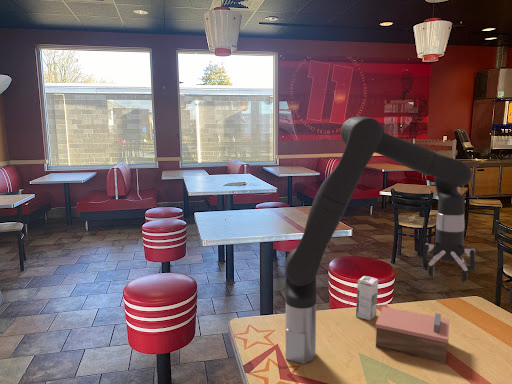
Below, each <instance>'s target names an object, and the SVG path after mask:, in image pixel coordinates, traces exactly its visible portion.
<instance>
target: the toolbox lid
mask: <svg viewBox="0 0 512 384" xmlns="http://www.w3.org/2000/svg"><path fill="white" fill-rule="evenodd" d="M374 327H375V328H376V329H377V328H381V329H385V330H390V331H394V332H399V333H403V334H408V335H413V336H417V337H422V338H426V339H431V340H435V341H440V342H445V343H447V344H449V338H450V336H449V334H450V319H449V318H446V317H442V314H441V313H434V315H429V314H425V313H421V312H420V313H419V312H415V311H414V312H413V311H408V310H403V309H398V308H394V307H388V306H382V308H381V311H380V313H379V314H378V317H377V320H376V322H375V326H374Z"/></svg>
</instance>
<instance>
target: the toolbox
mask: <svg viewBox="0 0 512 384" xmlns="http://www.w3.org/2000/svg"><path fill="white" fill-rule="evenodd" d="M375 331H376V332H375V333H376V334H375V348H378V349H382V350H387V351H390V352H391V351H392V352H396V353H399V354H404V355H408V356H411V357H416V358H419V359H423V360H428V361H433V362H435V363H436V362H437V363H440V364H441V363H442V364H443V365H444V364H445V365H446V363H447V362H446V361H447V350H448V348H447V347H448V343H445V342H440V341H435V340H431V339H426V338H422V337H417V336H413V335H408V334H403V333H399V332H394V331H390V330H385V329H381V328H376V330H375Z"/></svg>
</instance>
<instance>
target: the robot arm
mask: <svg viewBox="0 0 512 384" xmlns="http://www.w3.org/2000/svg"><path fill="white" fill-rule="evenodd" d="M340 136H341V139H342V141H343V143H344V144H345V148H344V151H343V153H342V156H341V158H340V159H339V162H338V163H337V164H336V166H335V168H333V170H332V171H331V172H330V173H329V175H328V176H327V177H326V178H325V179H324V180H323V182H322V183H321V184H320V187H319V189H318V191H317V192H316V195H315V196H314V199H313V201H312V204H311V207H310V210H309V213H308V216H307V220H306V223H305V228H304V232H303V234H302V236H301V237H302V238H301V240H300V241H299V243H298V245H297V246H296V248H294V249H292V250H291V251H289V253H288V254H287V256H286V260H285V269H284V270H285V360H288V361H292V362H294V363H299V364H302V365H305V364H306V363H308V362H311V361H313V360H314V359H315V358H316V353H317V352H316V351H317V350H316V348H317V347H316V342H317V339H316V336H317V333H316V331H317V275H318V272H319V268H320V265H321V261H322V259H323V256H324V254H325V252H326V249H327V247H328V244H329V242H330V240H331V239H332V237H333V235H334V233H335V232H336V230H337V227H338V226H339V224H340V222H341V220H342V218H343V216H344V214H345V212H346V210H347V208H348V205H349V204H350V201H351V199H352V197H353V194H354V192H355V190H356V188H357V186H358V183H359V181H360V179H361V176H362V175H363V173H364V170H365V169H366V167H367V165H368V164H369V162H370V161H371V158H372V156H373V155H374V153H375V154H377V155H380V156H383V157H386V158H387V159H390V160H392V161H394V162H395V163H398V164H400V165H402V166H404V167H406V168H408V169H410V170H413V171H415V172H418V173H419V174H423V175H424V176H429V177H434V185H435V190H436V191H435V192H436V194H437V198H438V200H437V202H438V204H437V216H436V226H435V243H434V244H431V243H429V242H426V243H425V244H424V245H423V250H422V251H423V252H422V263H424V264H427V265H428V275H429V276H430V278H434V276H435V264H436V263H437V261H439V260H440V259H441V261H444V262H445V261H449V262H453V263H454V262H456V263H457V264H458V265H459V266H460V267H461V283H465V282H467V280H468V276H469V275H468V274H469V273H468V272H469V271H475V269H476V249H475V248H473V247H472V248H465V247H464V241H465V239H464V238H465V237H464V234H465V228H466V227H465V204H466V203H465V197H464V195H463V194H462V193H460V192H459V191H458V187H464V186H466V185H468V183H470V182H471V180H472V178H473V171H472V169H471V167H470V165H468V164H467V163H466V162H463V161H461V160H458V159H454V158H451V157H448V156H444V155H442V154H439V153H437V152H435V151H433V150H431V149H428V148H426V147H424V146H421V145H419V144H417V143H414V142H412V141H411V142H410V141H408V140H405V139H402V138H400V137H397V136H394V135H392V134H389V133H386V132H385V131H383V128H382V125H381V123H380V122H379V121H378V120H377V119H376V118H373V117H370V116H369V117H368V116H360V115H359V116H358V115H357V116H352V117H350V118H348V119H347V120H345V122H344V123H343V124H342V126H341V129H340ZM432 249H433V251H434V252H435V253H436V254H435V255H434V256H433V257H432V258H431V259H430V258H429V254H430V253H429V252H431V251H432ZM464 254H466V256H467V257H469V264H468V263H466V261H465V259H464V258H463V255H464Z"/></svg>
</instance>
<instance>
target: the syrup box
mask: <svg viewBox="0 0 512 384" xmlns="http://www.w3.org/2000/svg"><path fill="white" fill-rule="evenodd" d="M356 286H357V287H356V306H355V307H356V308H355V311H356V312H355V317H356V318H359V319H363V320H366V321H369V322H370V321H372V320H373V319H374V318H375V317H376V315H377V306H378V291H379V290H378V288H379V279H378V278H375V277H372V276H367V275H363V276H362V277H361V278H359V279H357V285H356Z"/></svg>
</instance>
